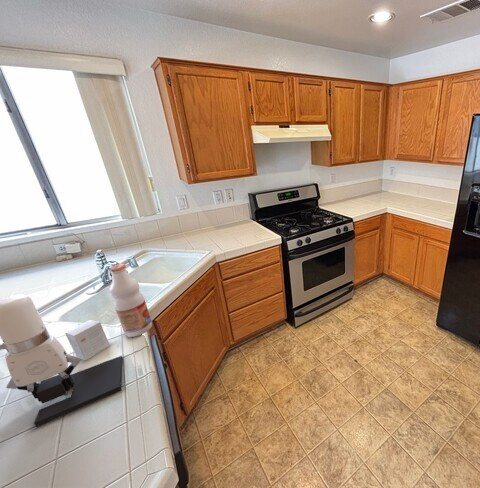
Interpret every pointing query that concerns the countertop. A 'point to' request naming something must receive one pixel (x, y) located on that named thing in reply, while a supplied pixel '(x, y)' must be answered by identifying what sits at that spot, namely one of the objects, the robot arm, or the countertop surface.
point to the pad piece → (51, 389)
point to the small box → (87, 339)
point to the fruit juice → (129, 302)
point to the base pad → (86, 389)
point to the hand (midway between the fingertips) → (56, 391)
